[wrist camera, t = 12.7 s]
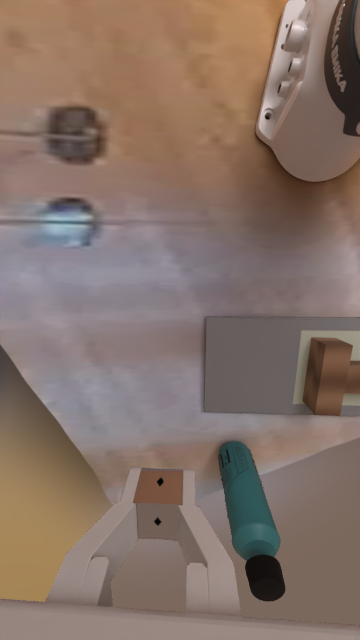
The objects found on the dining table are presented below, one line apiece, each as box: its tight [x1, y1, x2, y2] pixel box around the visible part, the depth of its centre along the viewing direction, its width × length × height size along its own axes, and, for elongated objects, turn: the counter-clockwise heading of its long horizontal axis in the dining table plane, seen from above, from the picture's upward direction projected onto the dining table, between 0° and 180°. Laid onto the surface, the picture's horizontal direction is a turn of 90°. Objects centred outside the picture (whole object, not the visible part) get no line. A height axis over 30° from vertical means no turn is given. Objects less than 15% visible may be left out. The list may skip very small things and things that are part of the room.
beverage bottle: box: [218, 441, 285, 601], centre depth 34 cm, size 6×7×20 cm
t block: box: [302, 337, 360, 416], centre depth 36 cm, size 12×11×4 cm
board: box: [204, 316, 360, 416], centre depth 39 cm, size 18×29×1 cm, turn 90°
